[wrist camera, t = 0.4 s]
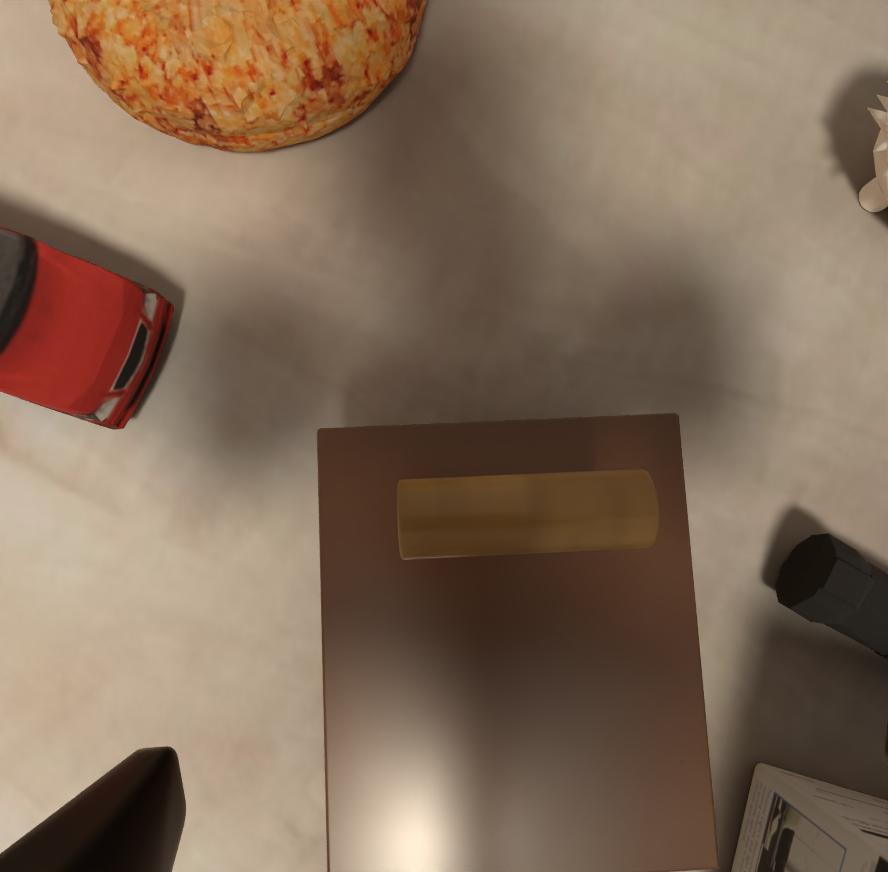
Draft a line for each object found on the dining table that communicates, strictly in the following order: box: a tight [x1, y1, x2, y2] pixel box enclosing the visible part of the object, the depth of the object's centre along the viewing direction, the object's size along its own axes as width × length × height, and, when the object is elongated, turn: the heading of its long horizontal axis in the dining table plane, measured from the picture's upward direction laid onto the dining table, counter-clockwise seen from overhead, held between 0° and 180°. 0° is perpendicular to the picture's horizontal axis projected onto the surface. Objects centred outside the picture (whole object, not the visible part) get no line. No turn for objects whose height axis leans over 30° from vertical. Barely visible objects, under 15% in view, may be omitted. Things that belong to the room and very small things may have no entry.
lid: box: [317, 413, 719, 872], centre depth 15 cm, size 11×9×5 cm
